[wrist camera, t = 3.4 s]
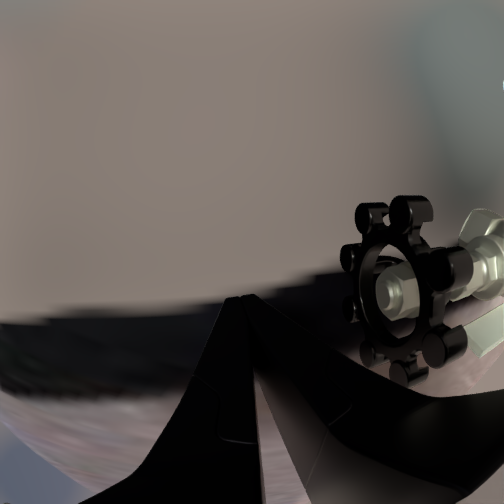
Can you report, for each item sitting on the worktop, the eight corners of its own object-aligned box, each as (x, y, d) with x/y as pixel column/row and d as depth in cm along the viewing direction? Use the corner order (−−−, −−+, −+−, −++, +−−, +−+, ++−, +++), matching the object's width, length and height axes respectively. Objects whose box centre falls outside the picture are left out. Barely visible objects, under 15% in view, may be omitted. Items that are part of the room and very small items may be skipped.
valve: (498, 183, 12) (345, 172, 10) (578, 223, 6) (492, 243, 4) (476, 276, 15) (330, 316, 13) (539, 329, 9) (402, 427, 7)
